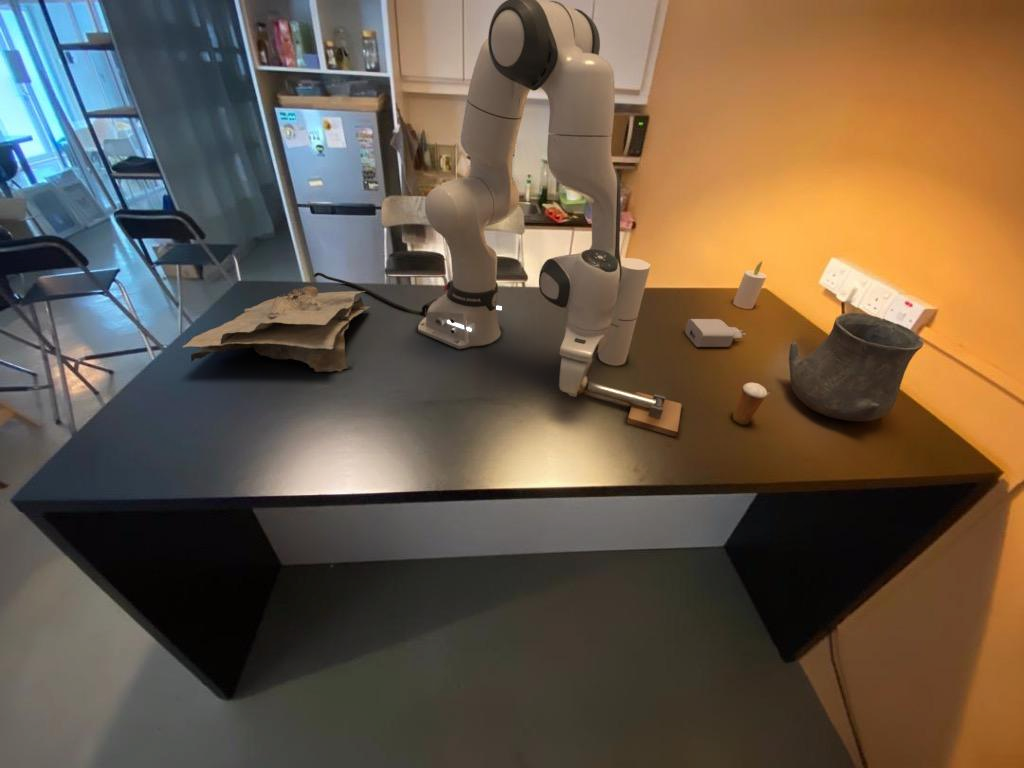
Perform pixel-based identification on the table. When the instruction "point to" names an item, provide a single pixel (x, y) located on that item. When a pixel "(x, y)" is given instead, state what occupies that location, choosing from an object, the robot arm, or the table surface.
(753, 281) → the candle
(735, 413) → the milkshake
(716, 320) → the charger
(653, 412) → the holder base
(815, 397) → the vessel
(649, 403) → the ball topped rod
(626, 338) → the cylindrical container
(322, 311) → the crumpled cardboard stack
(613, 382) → the table surface
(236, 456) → the table surface
